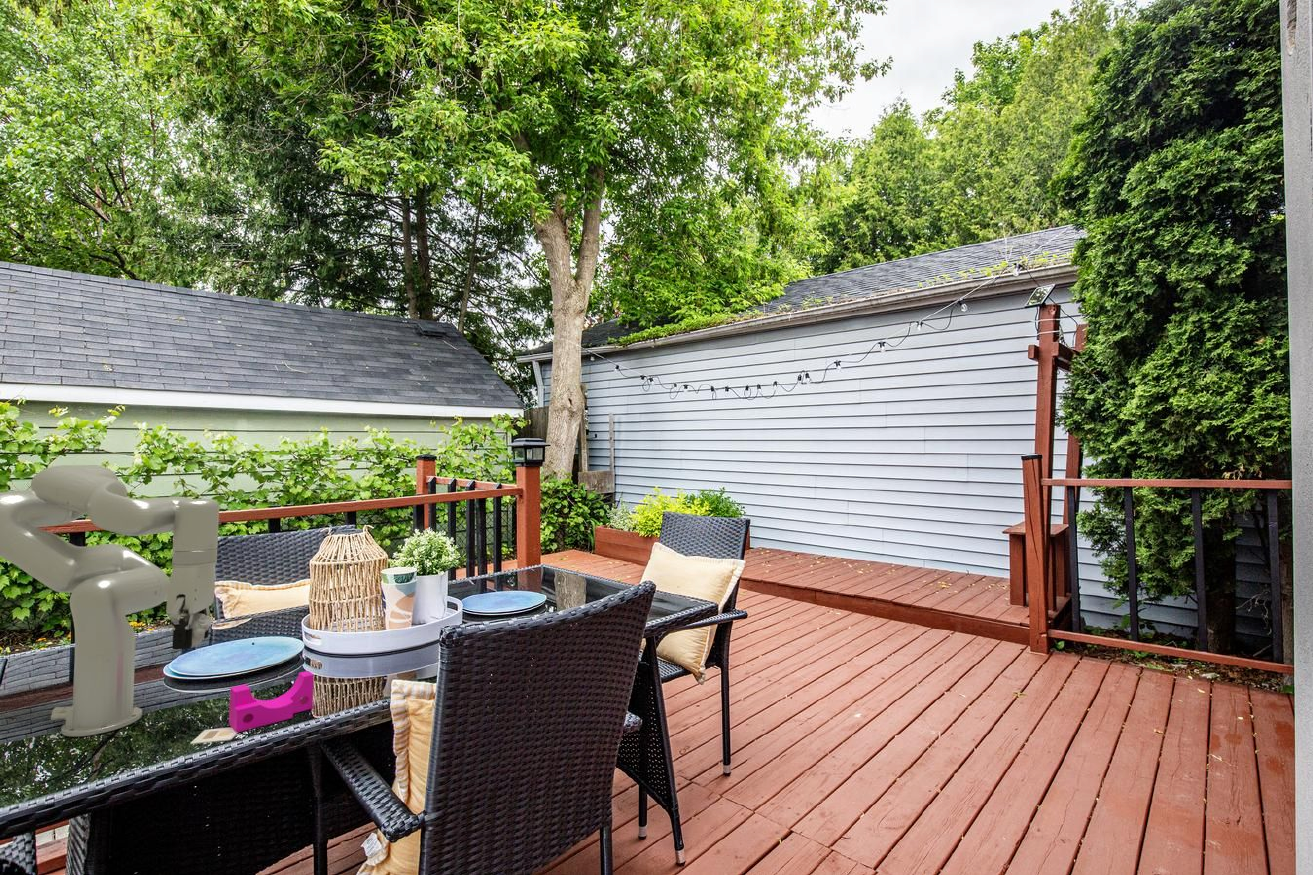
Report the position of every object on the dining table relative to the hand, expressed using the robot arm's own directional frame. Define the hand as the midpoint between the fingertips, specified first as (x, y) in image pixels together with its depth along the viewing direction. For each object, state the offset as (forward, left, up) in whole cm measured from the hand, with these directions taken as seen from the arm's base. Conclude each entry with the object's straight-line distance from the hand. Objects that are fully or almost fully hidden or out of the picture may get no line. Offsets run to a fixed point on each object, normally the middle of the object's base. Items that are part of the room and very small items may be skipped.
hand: (190, 642), depth 126 cm
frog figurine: (0, 0, -1) cm, 1 cm away
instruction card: (+7, -5, -18) cm, 20 cm away
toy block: (+15, +1, -18) cm, 24 cm away
